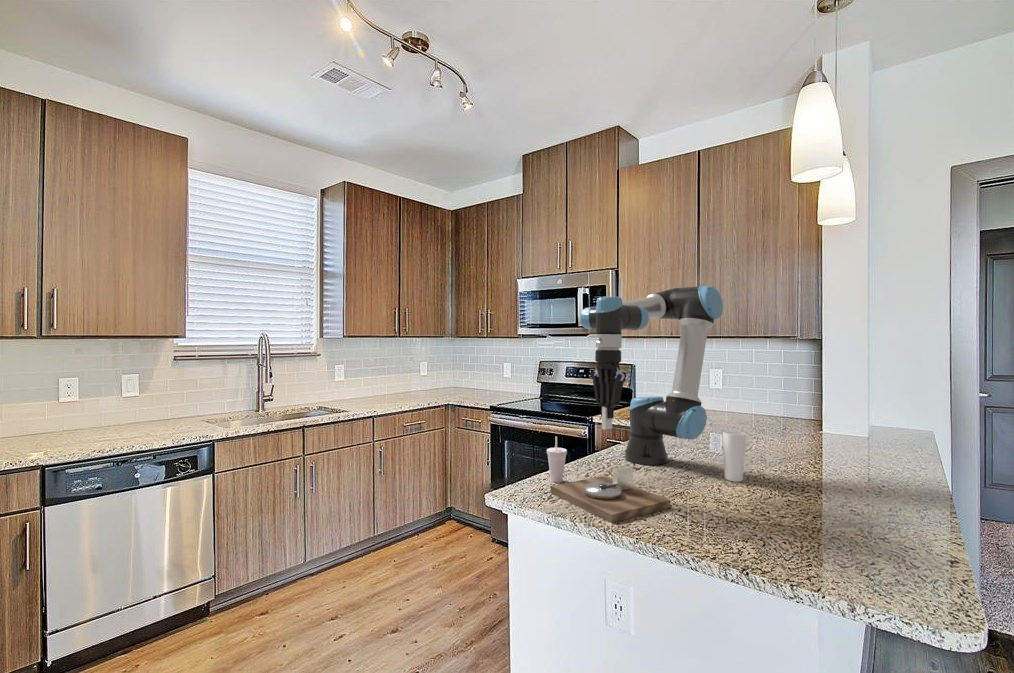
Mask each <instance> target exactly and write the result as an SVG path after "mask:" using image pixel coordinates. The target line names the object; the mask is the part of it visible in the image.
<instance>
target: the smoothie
mask: <svg viewBox="0 0 1014 673" xmlns="http://www.w3.org/2000/svg"><path fill="white" fill-rule="evenodd" d="M554 438H555V444H554V447H549V448H547V449H546V455H547V459H548V460H547V461H548V467H549V468H548V469H549V470H548V471H549V477H550V478H549V479H550V482H552V483H556V484H557V483H559V484H560V483H562V482H563V480H564V471H565V464H566V458H567V454H568V450H567V449H566V448H563V447H558V436H555V437H554Z"/></svg>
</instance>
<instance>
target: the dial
mask: <svg viewBox="0 0 1014 673" xmlns="http://www.w3.org/2000/svg"><path fill="white" fill-rule="evenodd" d="M612 478H613V484H611V483H605V482H593V483H588V484H586V485H585V487H584V493H585V494H586V495H587V496H589V497H592V498H596V499H604V500H610V499H617V498H619V497H621V491H622V490H626V489H631V488H633V486H634V485H633V484H634V482H633V481H634V480H633V479H634V467H633V466H631V465H624V466H619V467H614V468H612Z"/></svg>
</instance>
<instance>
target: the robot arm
mask: <svg viewBox="0 0 1014 673" xmlns="http://www.w3.org/2000/svg"><path fill="white" fill-rule="evenodd" d="M723 303H724V302H723V299H722V295H721V293H720V291H719V290H718V289H717V288H716V287H714V286H711V285H700V286H689V287H687V286H686V287H675V288H670V289H666V290H662V291H658V292H655V293H651V294H648V295H647V296H646V297H643V298H639V299H633V300H632V299H631V300H627V301H623V299H622V297H620V296H600V297H598V298H597V299H596V306H589V307H584V308H583V309H582V311H581V312H580V316H579V317H580V318H579V319H580V325H581V326H582V327H583V328H584V329H585V330H591V331H594V330H595V348H597V349H596V350H595V355H594V357H595V359H594V360H595V362H596V363H597V365H596V367H595V368H596V369H595V370H593V371H592V370H591V371H590V375H591V378H592V382H593V383H592V384H593V390H594V397H595V403H596V404H599V406H600V416H601V429H602V430H604V431H605V430H613V418H614V417H615V416H614V411H615V407H617V406H620V402H621V398H622V393H623V387H624V382H625V380H626V378H627V374H626V373H623V372H622V371H621V368H620V363H621V362H622V351H621V349H622V338H623V337H622V333H623V332H622V331H625V330H626V331H627V330H628V331H639V330H640V331H641V330H642V329H644V328H646V327H647V325H648V323H649V322H650V321H649V319H651V320H660V319H661V320H662V319H665V320H666V319H667V320H678V323H679V324H680V325H681V330H680V331H681V332H680V337H679V345H678V350H677V356H676V362H675V370H674V377H673V382H672V387H671V388H672V389H671V392H670V393H668V394H667V395H666V396H665V399H664V397H663V396H641V397H634V398H632V399H631V400H630V408H629V439H628V443H627V446H626V449H625V450H624V459H625V460H626V461H627V462H631V463H634V464H638V465H639V464H640V465H649V466H651V465H652V466H654V465H664V464H666V463H668V459H669V456H668V453H667V450H666V446H665V443H664V436H668V437H673V438H678V439H681V440H695V439H698V438H699V436H701V435H702V433H703V431H704V430H705V427H706V425H707V420H708V419H707V418H708V417H707V411H706V409H705V408H704V407H703V406H702V400H701V399H700V397H699V391H700V390H699V389H700V384H701V377H702V372H703V371H702V370H703V364H704V357H705V350H706V343H707V338H708V331H709V330H710V329H711V328H712V327H713V326H714V322H715V320H718V319H720V318H721V316H722V314H723V311H724V304H723Z"/></svg>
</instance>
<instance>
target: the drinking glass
mask: <svg viewBox="0 0 1014 673" xmlns="http://www.w3.org/2000/svg"><path fill="white" fill-rule="evenodd" d="M746 452H747V434H746V433H745V432H742V431H737V430H724V431H722V454H723V466H724V467H723V469H724V479H725V480H726V481H730V482H733V483H734V482H736V483H741V482H742V481H744V471H745V462H746V461H745V459H746Z"/></svg>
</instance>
